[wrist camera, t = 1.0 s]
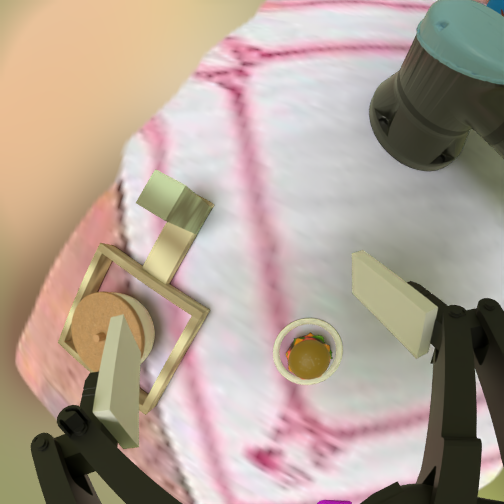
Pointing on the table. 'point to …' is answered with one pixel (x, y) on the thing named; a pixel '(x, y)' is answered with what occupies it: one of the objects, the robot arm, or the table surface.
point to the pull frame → (155, 269)
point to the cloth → (333, 502)
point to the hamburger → (308, 354)
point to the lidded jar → (97, 322)
